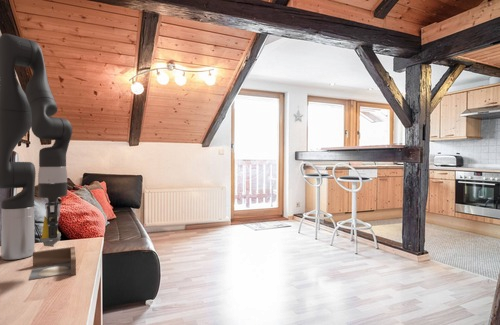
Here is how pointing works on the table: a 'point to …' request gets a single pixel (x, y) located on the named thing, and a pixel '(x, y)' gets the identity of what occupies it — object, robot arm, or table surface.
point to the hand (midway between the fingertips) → (53, 235)
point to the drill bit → (45, 238)
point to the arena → (54, 263)
